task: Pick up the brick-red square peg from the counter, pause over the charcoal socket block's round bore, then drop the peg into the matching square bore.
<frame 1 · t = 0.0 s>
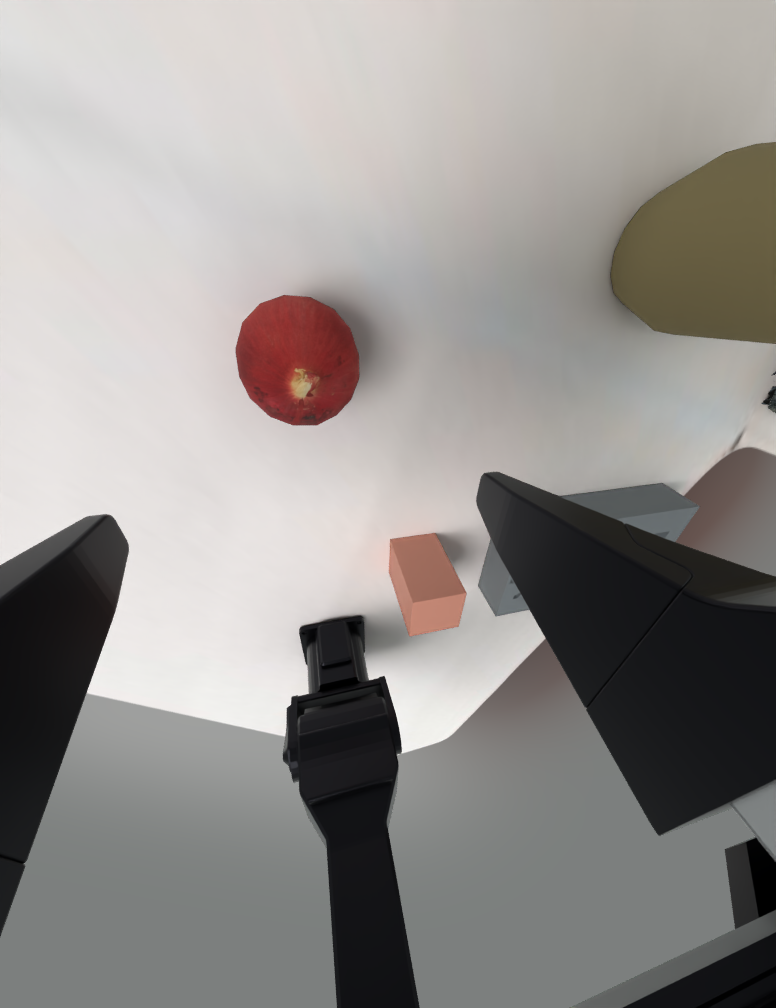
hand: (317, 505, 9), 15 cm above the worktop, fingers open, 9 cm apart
socket block: (566, 536, 36), on the worktop
squeeze bottle: (649, 251, 21), on the worktop
square peg: (411, 553, 32), on the worktop
onion: (298, 347, 20), on the worktop
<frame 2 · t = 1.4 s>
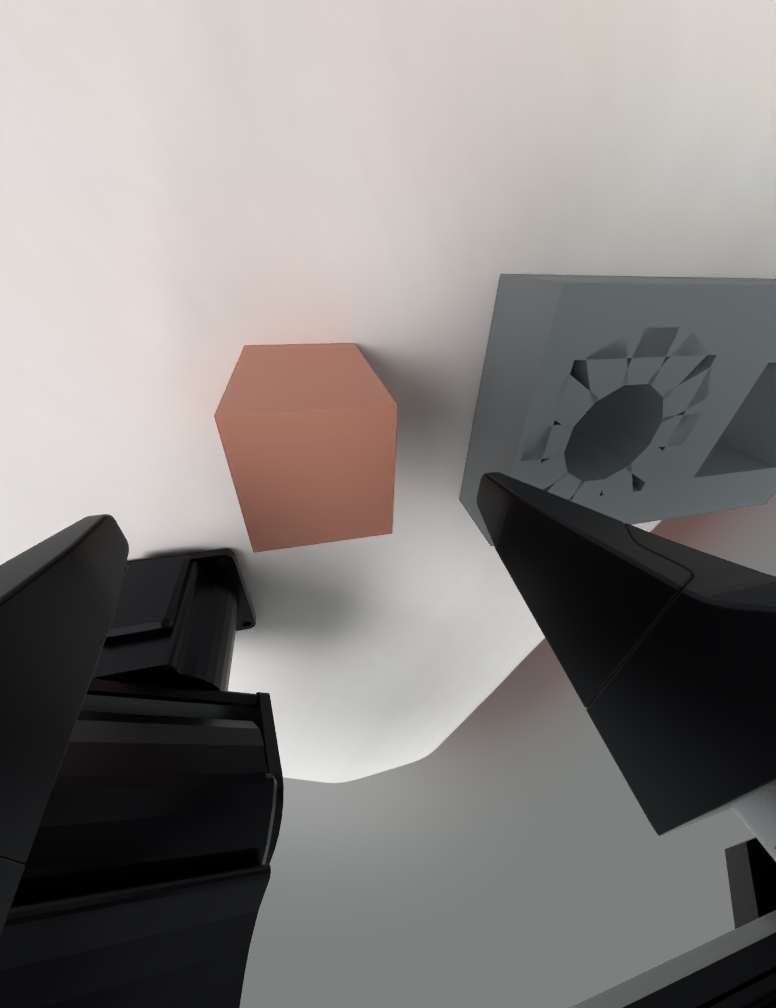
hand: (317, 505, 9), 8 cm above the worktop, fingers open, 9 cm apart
socket block: (629, 398, 19), on the worktop
square peg: (307, 397, 15), on the worktop
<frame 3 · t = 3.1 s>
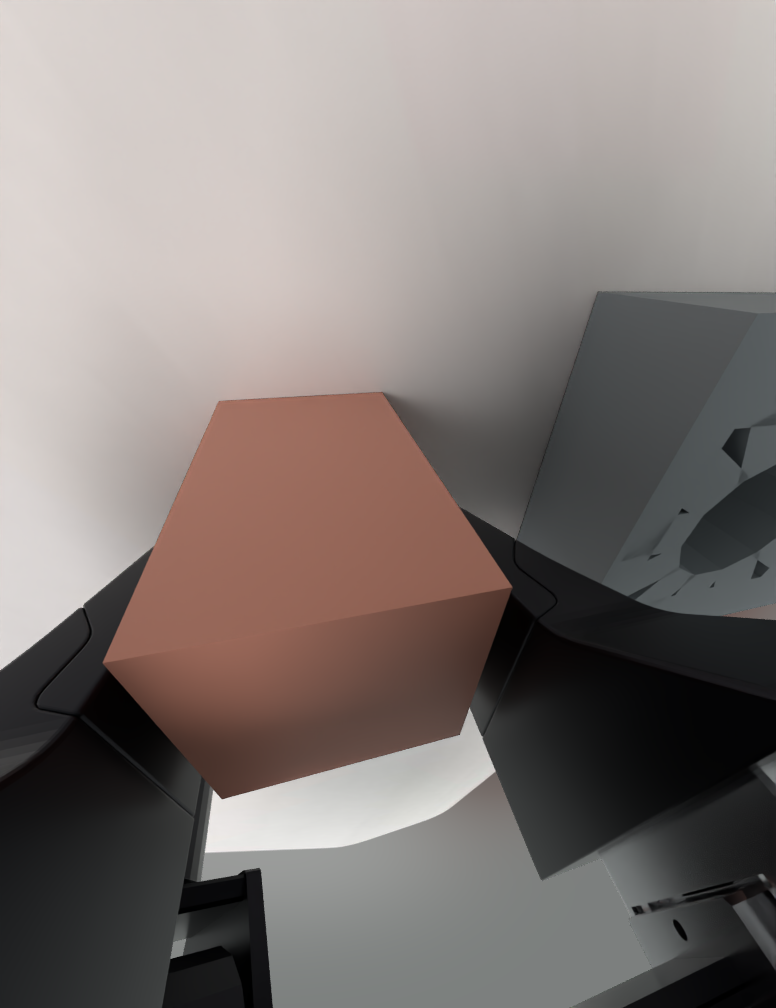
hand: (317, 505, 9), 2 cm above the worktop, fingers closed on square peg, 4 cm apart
socket block: (731, 447, 14), on the worktop
square peg: (312, 465, 10), on the worktop, touching gripper
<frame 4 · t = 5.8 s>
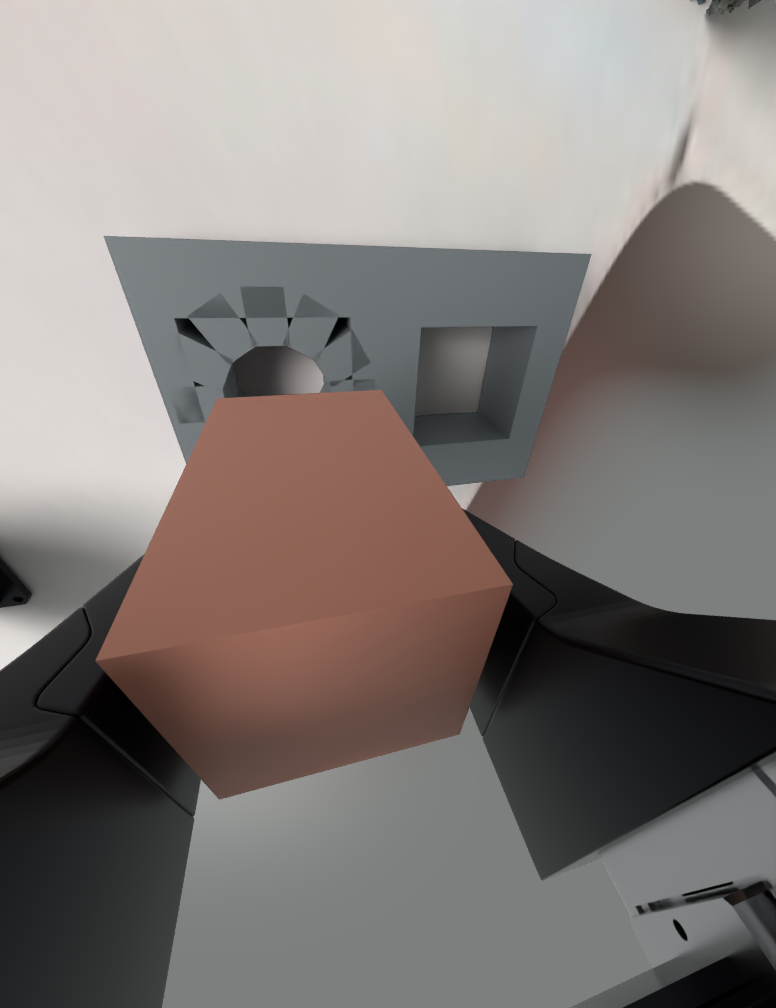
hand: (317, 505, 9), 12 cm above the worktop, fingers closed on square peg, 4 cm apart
socket block: (365, 371, 19), on the worktop
square peg: (311, 464, 10), point 10 cm above the worktop, touching gripper
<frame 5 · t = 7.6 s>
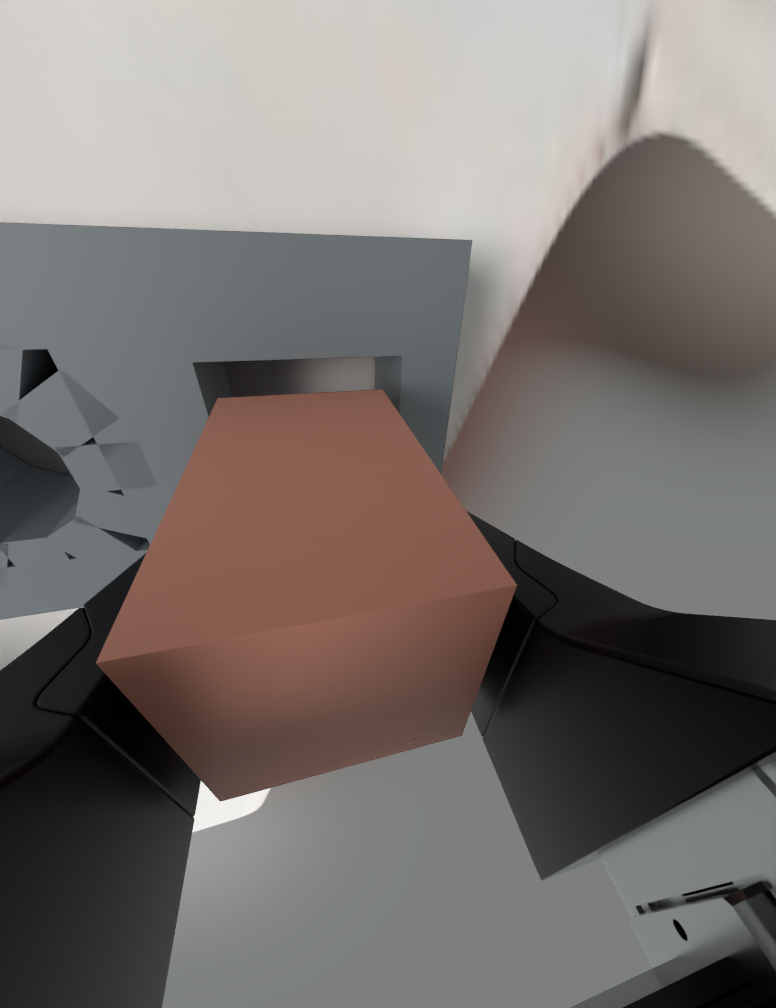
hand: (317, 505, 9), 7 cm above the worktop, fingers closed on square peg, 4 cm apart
socket block: (189, 413, 13), on the worktop
square peg: (312, 463, 10), point 5 cm above the worktop, touching gripper
when the fingers open (4 cm above the worktop, at t = 8.8 s): square peg drops 3 cm, resting in socket block.
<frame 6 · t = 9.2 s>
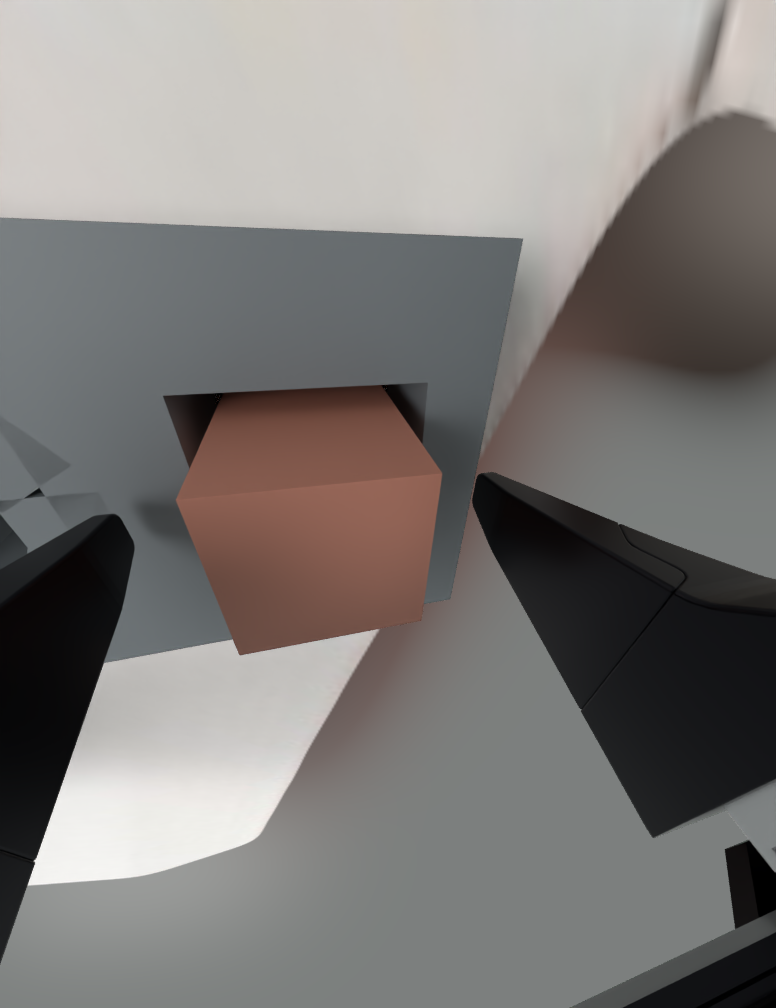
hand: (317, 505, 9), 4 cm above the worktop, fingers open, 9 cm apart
socket block: (171, 442, 11), on the worktop
square peg: (309, 429, 12), resting in socket block
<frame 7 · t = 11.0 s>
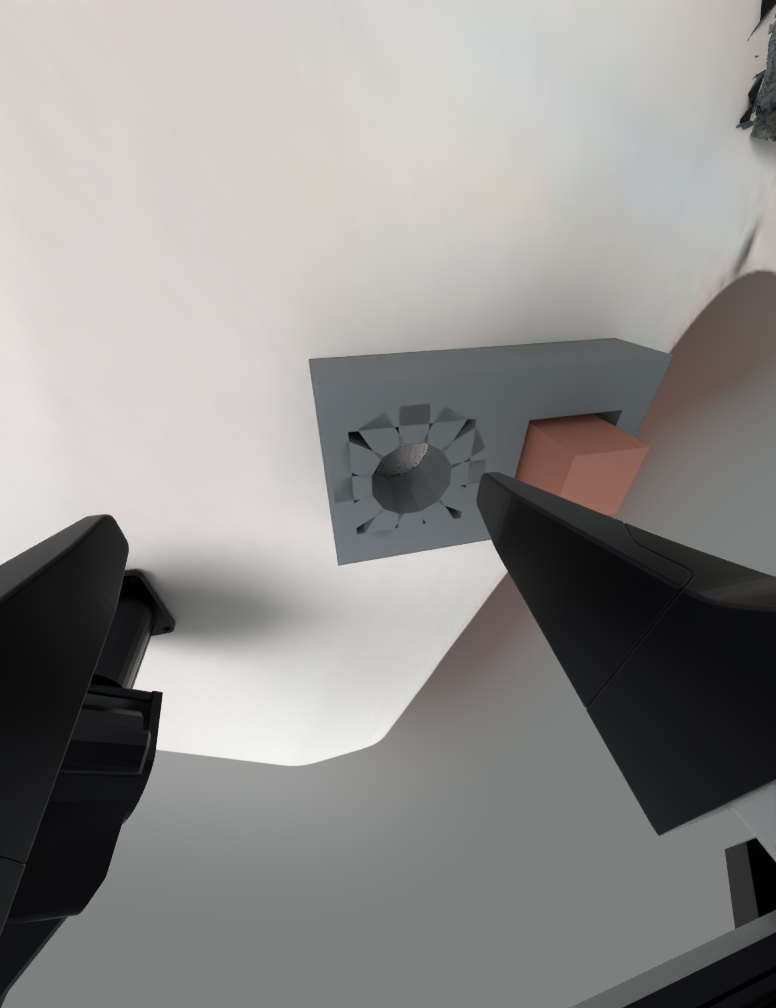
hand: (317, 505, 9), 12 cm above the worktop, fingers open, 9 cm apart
socket block: (462, 438, 22), on the worktop
square peg: (525, 429, 23), resting in socket block
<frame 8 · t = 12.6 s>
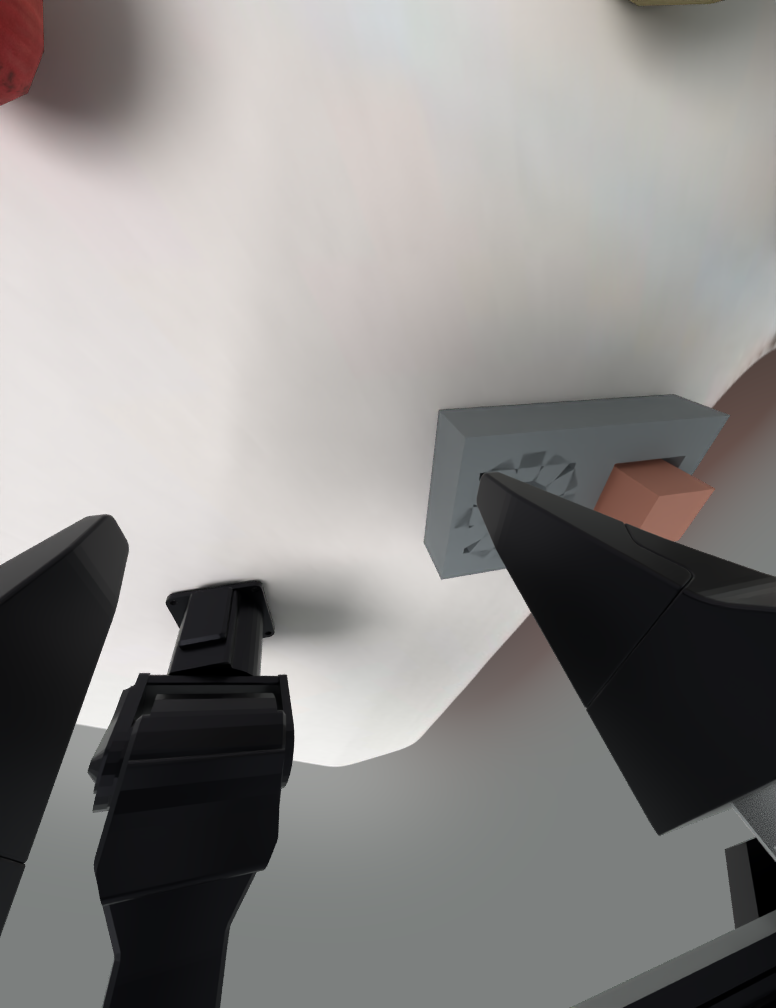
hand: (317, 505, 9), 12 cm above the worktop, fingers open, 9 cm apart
socket block: (542, 472, 26), on the worktop
square peg: (592, 465, 27), resting in socket block
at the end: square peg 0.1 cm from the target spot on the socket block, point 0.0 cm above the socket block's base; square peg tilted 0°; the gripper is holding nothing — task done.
